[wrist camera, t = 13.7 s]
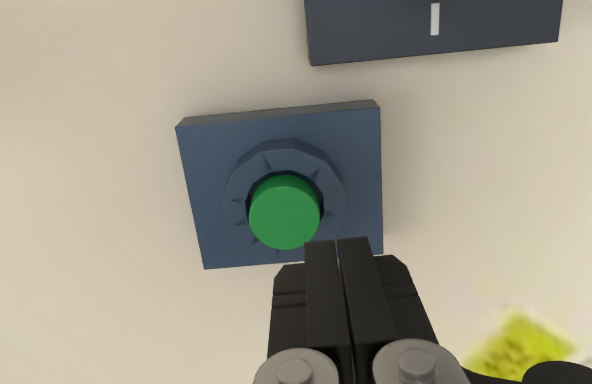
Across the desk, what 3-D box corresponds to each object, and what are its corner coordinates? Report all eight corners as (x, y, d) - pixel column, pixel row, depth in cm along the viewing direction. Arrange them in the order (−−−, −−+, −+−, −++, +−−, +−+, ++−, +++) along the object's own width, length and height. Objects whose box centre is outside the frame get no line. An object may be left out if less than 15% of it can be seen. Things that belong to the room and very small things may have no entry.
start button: (315, 170, 23) (317, 182, 21) (320, 231, 24) (322, 247, 23) (247, 177, 23) (244, 189, 21) (256, 237, 24) (253, 253, 23)
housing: (373, 99, 25) (387, 114, 22) (377, 237, 29) (389, 270, 25) (183, 117, 26) (165, 135, 22) (210, 251, 29) (198, 287, 25)
